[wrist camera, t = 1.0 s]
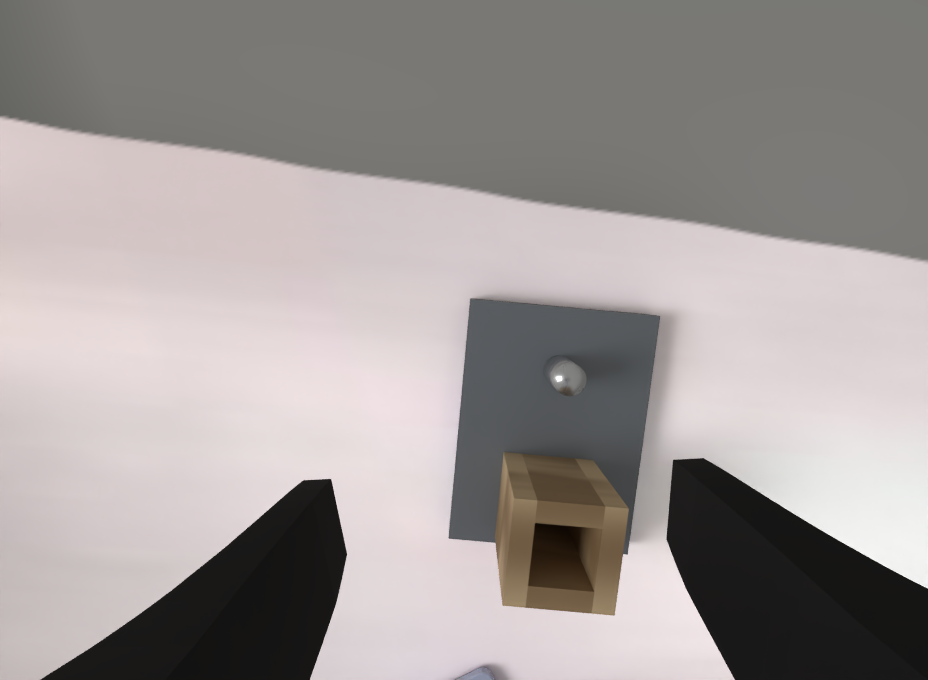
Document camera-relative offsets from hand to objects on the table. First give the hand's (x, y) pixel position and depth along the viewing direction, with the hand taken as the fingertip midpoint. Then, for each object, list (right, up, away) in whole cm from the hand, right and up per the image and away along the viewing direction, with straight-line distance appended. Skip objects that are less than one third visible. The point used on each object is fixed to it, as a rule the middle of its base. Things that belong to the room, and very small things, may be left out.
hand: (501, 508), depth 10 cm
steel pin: (+4, +2, +13) cm, 14 cm away
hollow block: (+3, -4, +13) cm, 14 cm away
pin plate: (+3, -1, +13) cm, 14 cm away
